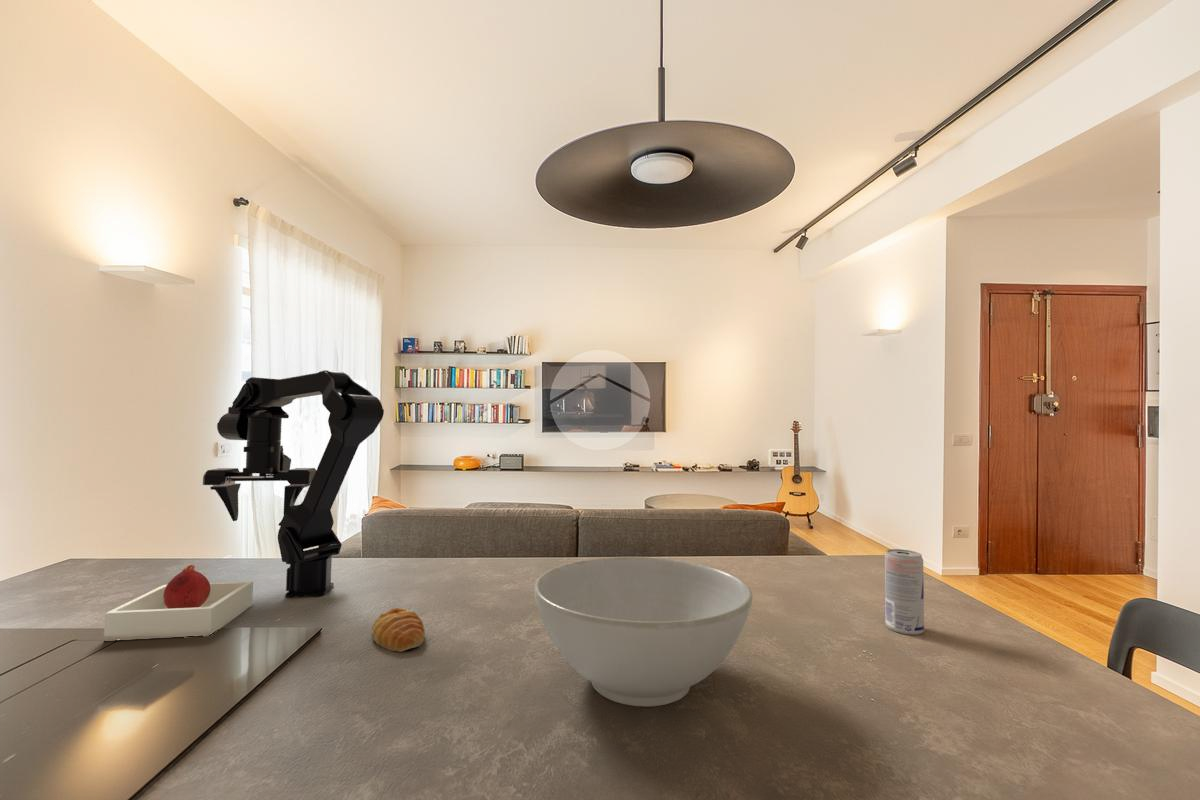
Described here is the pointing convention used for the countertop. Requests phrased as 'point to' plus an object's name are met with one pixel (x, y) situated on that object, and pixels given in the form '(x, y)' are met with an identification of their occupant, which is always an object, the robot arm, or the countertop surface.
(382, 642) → the pastry
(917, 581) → the energy drink
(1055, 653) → the countertop surface
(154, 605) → the bin
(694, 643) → the decorative bowl
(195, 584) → the onion
